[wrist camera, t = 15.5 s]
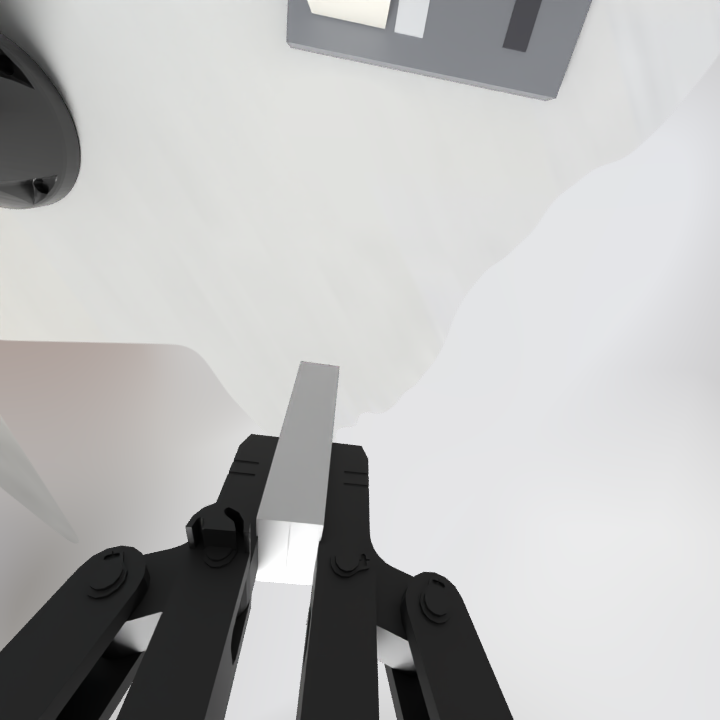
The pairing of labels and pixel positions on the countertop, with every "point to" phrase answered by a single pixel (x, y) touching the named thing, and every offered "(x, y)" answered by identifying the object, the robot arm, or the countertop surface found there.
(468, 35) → the switch panel
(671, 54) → the countertop surface
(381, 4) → the block
